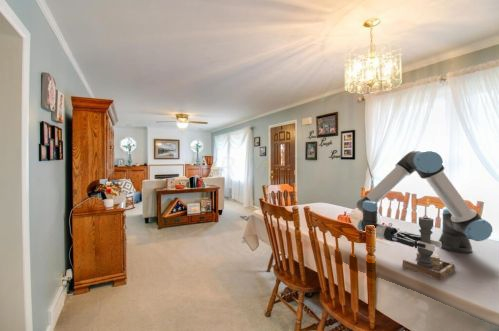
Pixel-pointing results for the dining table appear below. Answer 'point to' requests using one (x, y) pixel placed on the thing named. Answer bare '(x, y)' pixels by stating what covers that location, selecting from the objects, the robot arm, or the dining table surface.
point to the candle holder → (426, 232)
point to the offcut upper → (435, 259)
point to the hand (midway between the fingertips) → (437, 246)
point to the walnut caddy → (435, 274)
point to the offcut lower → (438, 266)
